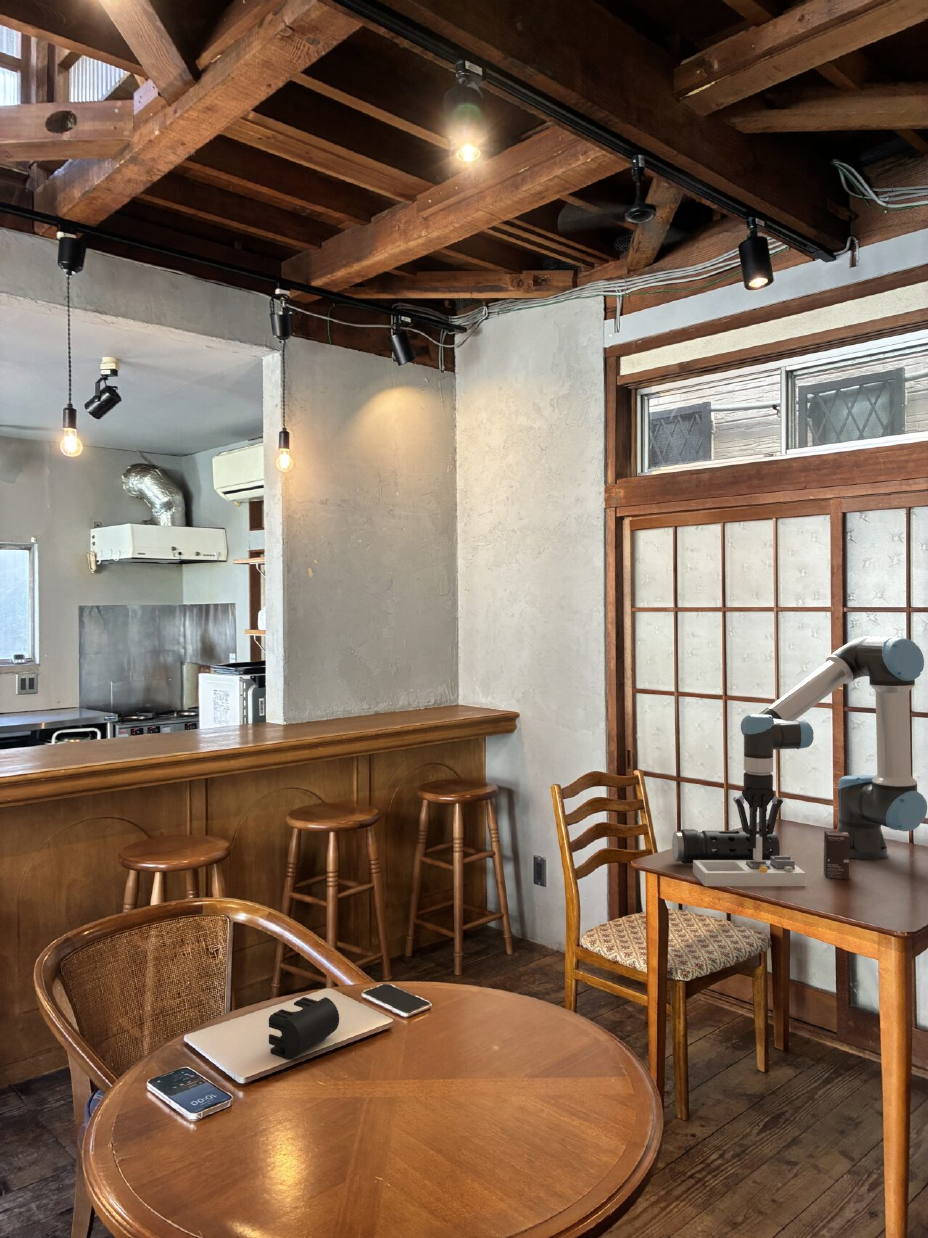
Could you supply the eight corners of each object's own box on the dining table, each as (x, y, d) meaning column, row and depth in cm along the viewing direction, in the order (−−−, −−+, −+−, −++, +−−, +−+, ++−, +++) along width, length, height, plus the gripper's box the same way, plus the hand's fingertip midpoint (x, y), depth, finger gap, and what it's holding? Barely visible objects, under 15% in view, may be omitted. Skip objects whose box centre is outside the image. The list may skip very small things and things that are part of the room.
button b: (763, 874, 243) (763, 858, 243) (769, 879, 239) (769, 863, 239) (746, 874, 243) (746, 858, 243) (751, 879, 239) (751, 863, 238)
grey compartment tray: (788, 872, 247) (788, 856, 247) (805, 886, 235) (805, 869, 235) (692, 872, 247) (693, 856, 247) (704, 886, 235) (704, 869, 235)
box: (826, 879, 242) (826, 834, 241) (823, 874, 246) (823, 830, 246) (850, 880, 240) (850, 835, 240) (846, 875, 245) (847, 831, 244)
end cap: (299, 1066, 142) (299, 1024, 142) (266, 1054, 146) (266, 1013, 146) (340, 1040, 151) (340, 1000, 151) (308, 1030, 154) (308, 991, 154)
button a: (788, 869, 243) (788, 853, 243) (794, 874, 239) (794, 858, 239) (770, 869, 243) (770, 854, 243) (776, 874, 239) (776, 858, 239)
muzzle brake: (780, 872, 249) (780, 834, 248) (678, 871, 249) (678, 834, 249) (769, 862, 258) (769, 826, 258) (671, 861, 259) (671, 825, 259)
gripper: (777, 770, 244) (776, 856, 245) (729, 769, 244) (729, 856, 245) (787, 775, 237) (786, 864, 237) (738, 774, 237) (737, 864, 237)
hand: (757, 860), depth 241 cm, fingers closed
